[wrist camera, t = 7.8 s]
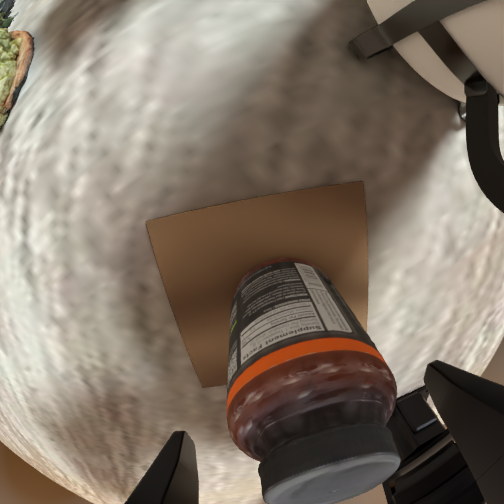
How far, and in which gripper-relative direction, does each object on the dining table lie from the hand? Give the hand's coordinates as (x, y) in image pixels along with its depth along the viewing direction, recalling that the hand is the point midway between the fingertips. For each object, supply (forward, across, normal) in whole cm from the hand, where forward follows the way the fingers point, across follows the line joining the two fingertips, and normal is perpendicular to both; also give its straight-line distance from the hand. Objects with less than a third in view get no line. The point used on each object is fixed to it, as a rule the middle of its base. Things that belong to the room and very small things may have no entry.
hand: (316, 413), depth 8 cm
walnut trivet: (+10, 0, 0) cm, 10 cm away
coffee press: (+9, -14, -15) cm, 22 cm away
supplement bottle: (+8, 0, 0) cm, 8 cm away
